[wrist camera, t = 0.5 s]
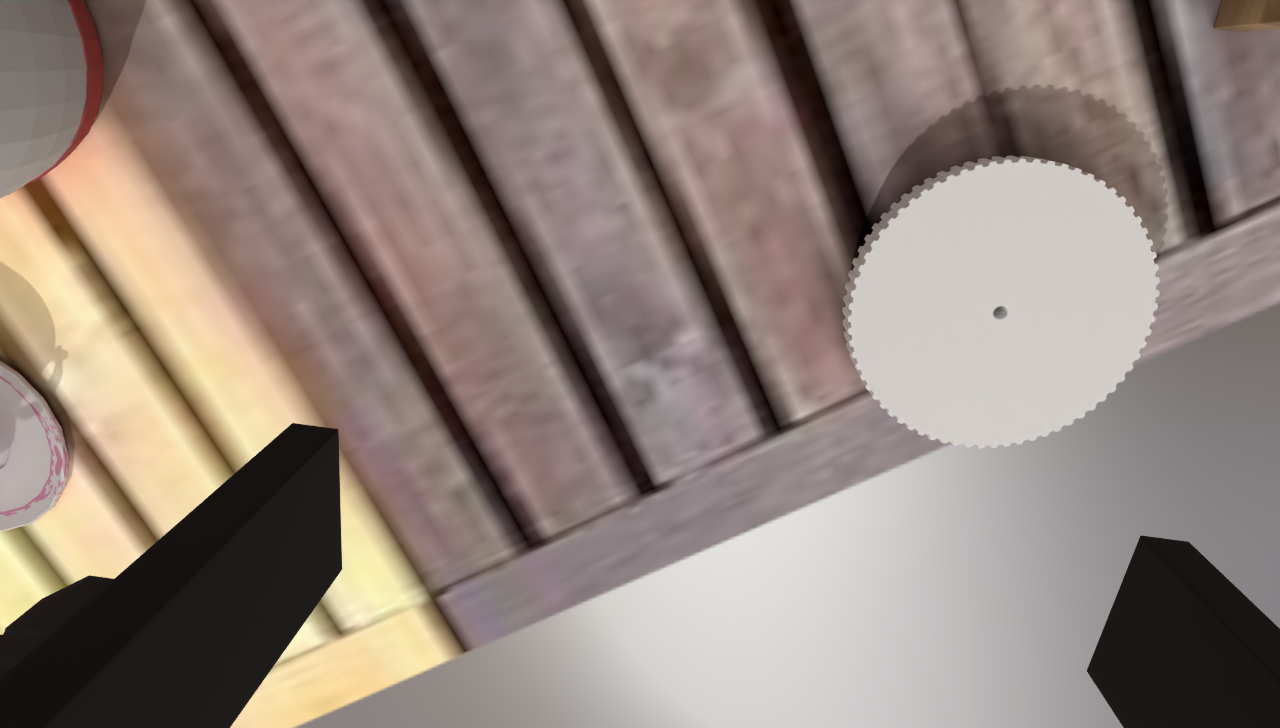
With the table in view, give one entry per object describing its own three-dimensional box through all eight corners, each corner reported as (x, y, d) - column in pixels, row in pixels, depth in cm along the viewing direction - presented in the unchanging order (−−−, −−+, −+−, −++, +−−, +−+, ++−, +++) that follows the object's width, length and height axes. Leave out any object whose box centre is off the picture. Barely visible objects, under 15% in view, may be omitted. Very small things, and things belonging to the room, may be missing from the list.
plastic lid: (812, 200, 38) (820, 209, 36) (1116, 116, 36) (1146, 118, 33) (868, 453, 42) (878, 475, 40) (1142, 391, 40) (1170, 411, 38)
